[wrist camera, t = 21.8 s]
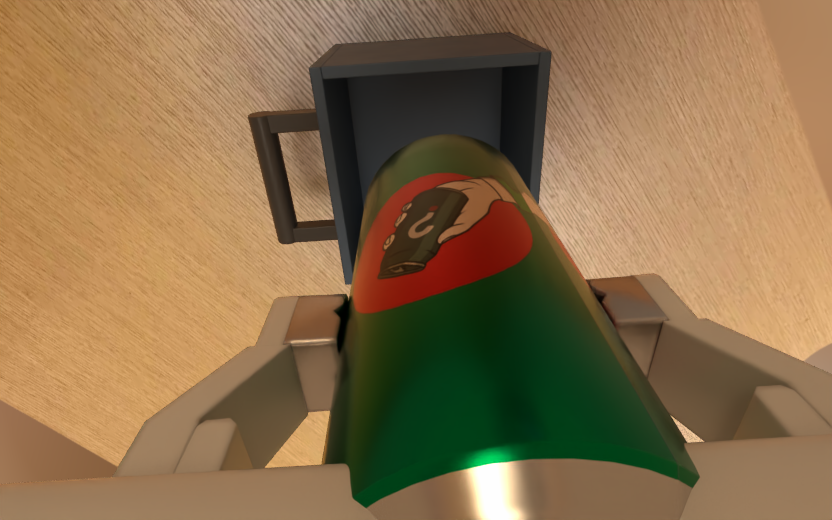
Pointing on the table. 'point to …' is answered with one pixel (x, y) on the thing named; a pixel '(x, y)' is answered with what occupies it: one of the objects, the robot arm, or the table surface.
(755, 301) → the table surface
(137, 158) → the table surface
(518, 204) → the soda can
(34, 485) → the robot arm
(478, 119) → the handled storage box
